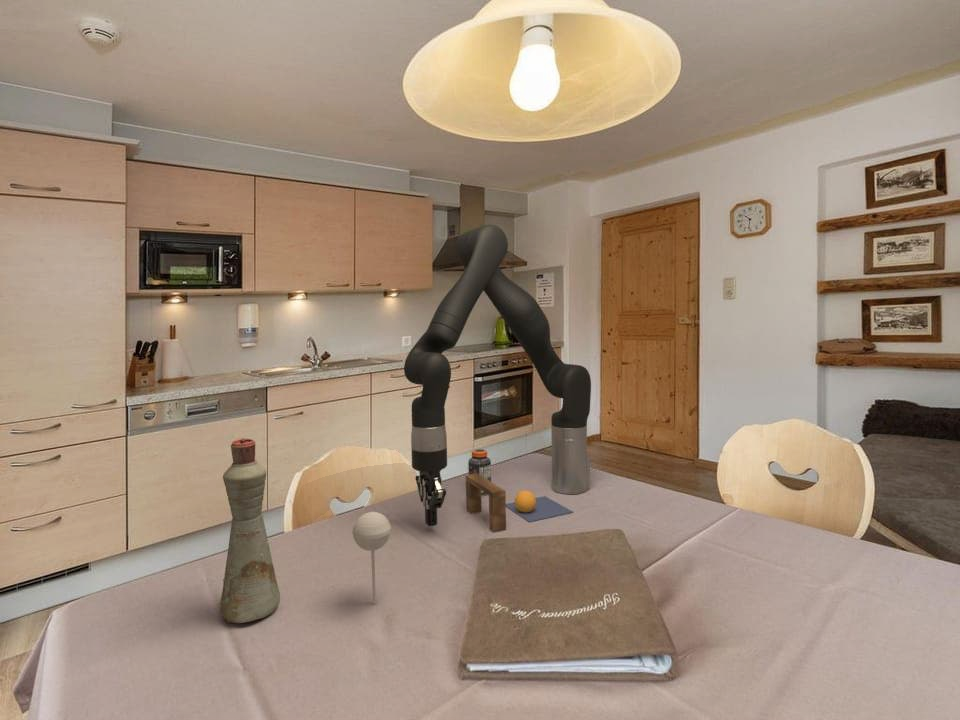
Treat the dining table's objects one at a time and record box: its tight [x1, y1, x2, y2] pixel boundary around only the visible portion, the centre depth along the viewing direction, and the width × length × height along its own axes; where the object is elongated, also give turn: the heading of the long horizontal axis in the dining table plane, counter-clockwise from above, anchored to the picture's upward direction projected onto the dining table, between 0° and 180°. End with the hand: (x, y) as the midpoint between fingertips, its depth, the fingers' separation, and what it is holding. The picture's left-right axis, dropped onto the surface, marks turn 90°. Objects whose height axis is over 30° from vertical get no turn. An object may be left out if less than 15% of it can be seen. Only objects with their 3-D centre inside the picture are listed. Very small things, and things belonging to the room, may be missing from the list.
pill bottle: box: [467, 448, 492, 496], centre depth 133 cm, size 6×6×11 cm
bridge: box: [465, 473, 507, 533], centre depth 115 cm, size 3×14×9 cm, turn 26°
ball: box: [514, 490, 537, 513], centre depth 119 cm, size 5×5×5 cm
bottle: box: [219, 437, 281, 624], centre depth 79 cm, size 9×9×28 cm
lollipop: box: [352, 511, 392, 605], centre depth 81 cm, size 6×6×15 cm
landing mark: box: [506, 495, 574, 523], centre depth 121 cm, size 12×12×1 cm
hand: (431, 524), depth 109 cm, fingers closed
